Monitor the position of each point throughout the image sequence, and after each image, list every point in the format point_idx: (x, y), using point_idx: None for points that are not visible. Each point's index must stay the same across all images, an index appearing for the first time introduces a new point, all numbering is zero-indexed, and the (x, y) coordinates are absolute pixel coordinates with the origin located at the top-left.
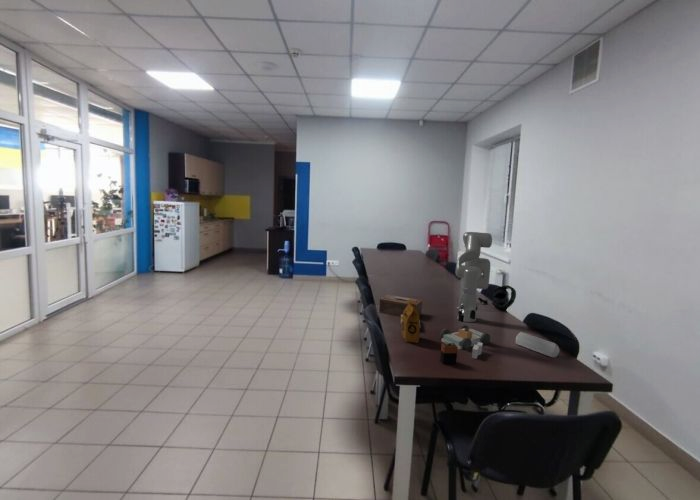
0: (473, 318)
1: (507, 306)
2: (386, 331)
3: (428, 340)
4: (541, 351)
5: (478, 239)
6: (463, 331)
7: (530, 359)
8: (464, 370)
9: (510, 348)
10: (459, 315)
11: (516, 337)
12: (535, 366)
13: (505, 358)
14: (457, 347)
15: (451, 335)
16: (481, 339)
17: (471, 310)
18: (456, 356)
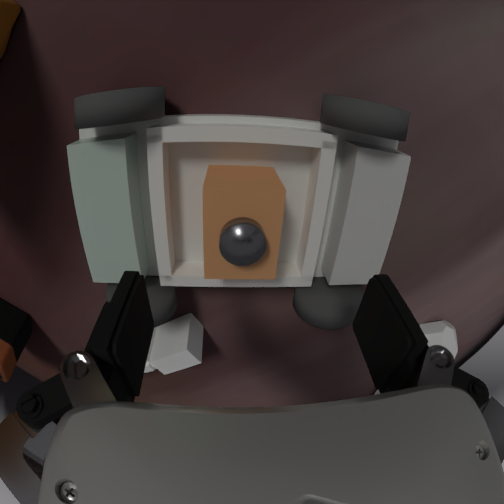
0: (356, 327)
1: None
2: None
3: (31, 88)
4: (379, 393)
5: None
6: (203, 240)
7: (306, 402)
8: (41, 361)
9: (355, 345)
10: (89, 353)
11: (437, 337)
12: None
13: (237, 384)
14: (8, 379)
15: (114, 180)
16: (295, 293)
17: (417, 371)
18: (20, 353)
